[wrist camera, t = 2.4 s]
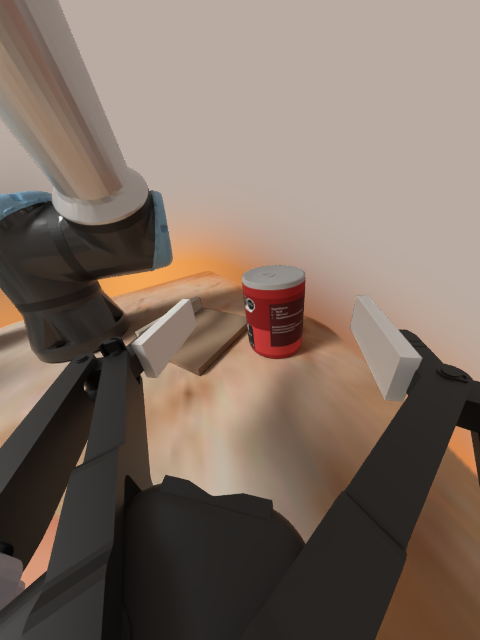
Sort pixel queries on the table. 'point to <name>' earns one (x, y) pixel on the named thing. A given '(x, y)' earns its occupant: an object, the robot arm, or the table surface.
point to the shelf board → (206, 338)
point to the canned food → (274, 309)
